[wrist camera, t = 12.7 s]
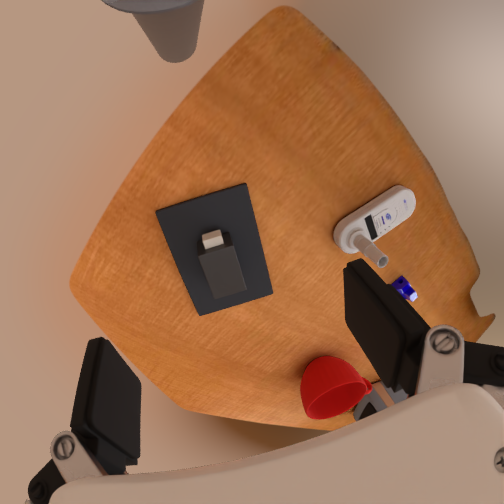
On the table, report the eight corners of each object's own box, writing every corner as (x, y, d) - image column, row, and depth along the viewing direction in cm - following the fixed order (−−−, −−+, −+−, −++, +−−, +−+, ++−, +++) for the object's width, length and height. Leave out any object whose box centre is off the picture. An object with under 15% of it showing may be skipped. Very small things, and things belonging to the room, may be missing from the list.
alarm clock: (363, 384, 68) (389, 431, 55) (411, 366, 71) (438, 407, 57) (349, 414, 76) (369, 455, 63) (393, 397, 79) (415, 434, 66)
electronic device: (448, 229, 36) (371, 286, 37) (408, 205, 45) (338, 252, 45) (444, 198, 33) (361, 258, 34) (401, 178, 42) (326, 226, 43)
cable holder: (401, 275, 52) (413, 287, 48) (406, 285, 53) (417, 296, 50) (370, 301, 53) (380, 314, 49) (376, 310, 55) (385, 323, 51)
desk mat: (155, 210, 37) (155, 212, 36) (245, 182, 37) (246, 184, 37) (199, 313, 46) (199, 316, 45) (272, 291, 47) (273, 293, 46)
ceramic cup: (345, 381, 65) (361, 412, 57) (282, 385, 60) (295, 422, 52) (370, 343, 60) (392, 376, 51) (305, 344, 55) (323, 384, 46)
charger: (193, 233, 39) (194, 247, 35) (226, 223, 39) (230, 236, 35) (211, 282, 43) (214, 299, 39) (241, 273, 43) (247, 289, 40)
